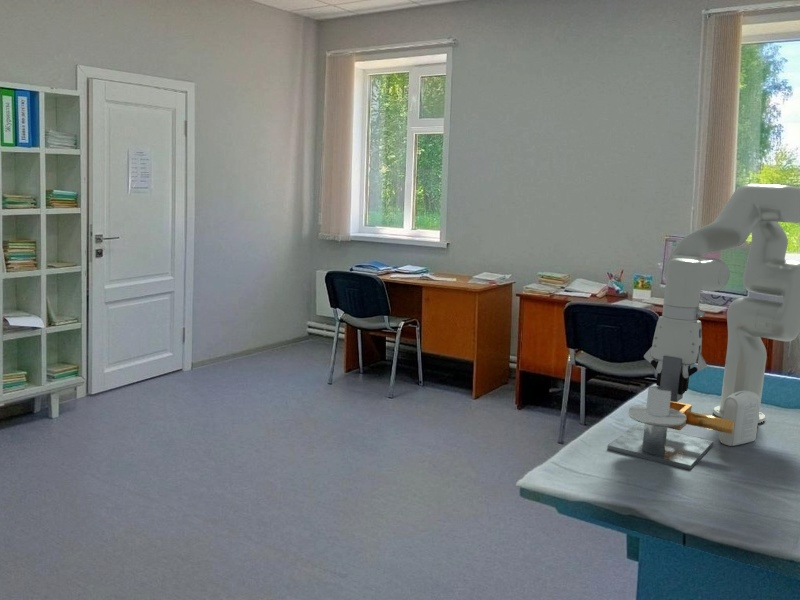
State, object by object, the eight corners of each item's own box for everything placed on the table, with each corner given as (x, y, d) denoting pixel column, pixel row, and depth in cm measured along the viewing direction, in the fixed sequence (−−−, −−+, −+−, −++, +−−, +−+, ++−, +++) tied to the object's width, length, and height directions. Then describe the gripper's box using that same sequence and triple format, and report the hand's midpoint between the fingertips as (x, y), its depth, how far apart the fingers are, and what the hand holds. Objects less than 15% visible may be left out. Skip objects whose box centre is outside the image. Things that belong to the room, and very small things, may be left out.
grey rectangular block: (664, 394, 177) (669, 352, 175) (682, 397, 174) (687, 355, 173) (658, 398, 172) (663, 356, 171) (676, 402, 170) (681, 359, 169)
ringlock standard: (635, 427, 185) (641, 368, 183) (734, 450, 172) (742, 387, 170) (604, 451, 167) (610, 386, 165) (711, 478, 154) (720, 408, 152)
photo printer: (741, 435, 183) (747, 386, 181) (758, 441, 180) (764, 391, 178) (716, 442, 177) (722, 391, 175) (732, 448, 174) (739, 396, 172)
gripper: (722, 316, 169) (713, 395, 172) (648, 306, 178) (640, 381, 181) (715, 320, 163) (705, 402, 165) (638, 310, 172) (630, 387, 175)
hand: (671, 390), depth 173 cm, fingers closed on grey rectangular block, 4 cm apart
